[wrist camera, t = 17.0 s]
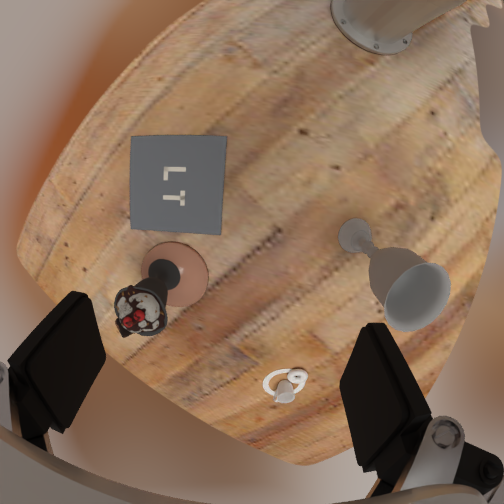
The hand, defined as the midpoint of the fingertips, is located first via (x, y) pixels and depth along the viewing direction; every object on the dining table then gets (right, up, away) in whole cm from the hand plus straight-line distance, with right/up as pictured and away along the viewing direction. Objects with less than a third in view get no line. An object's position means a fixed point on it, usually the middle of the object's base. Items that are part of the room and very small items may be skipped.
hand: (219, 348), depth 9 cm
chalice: (+15, +5, +29) cm, 33 cm away
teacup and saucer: (+10, -21, +39) cm, 46 cm away
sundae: (-11, 0, +30) cm, 32 cm away
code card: (-9, +12, +26) cm, 30 cm away
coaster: (-10, 0, +31) cm, 32 cm away
